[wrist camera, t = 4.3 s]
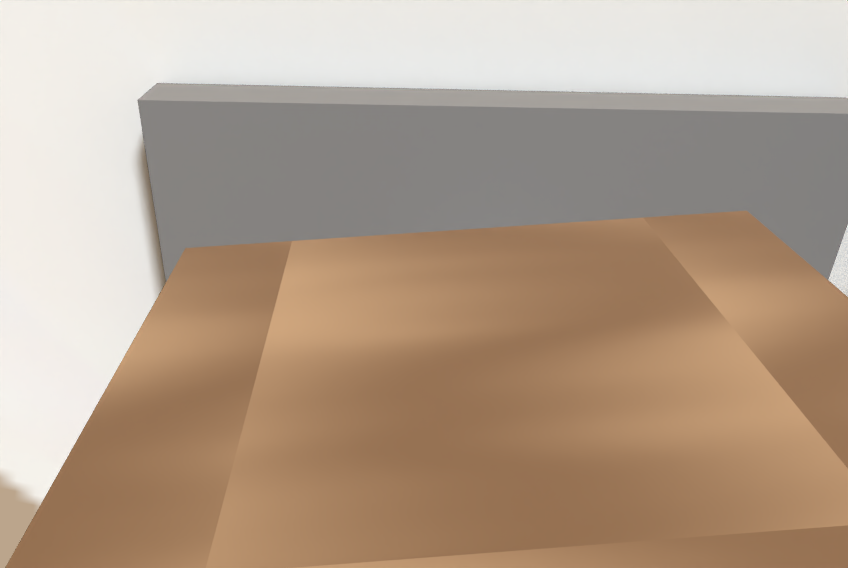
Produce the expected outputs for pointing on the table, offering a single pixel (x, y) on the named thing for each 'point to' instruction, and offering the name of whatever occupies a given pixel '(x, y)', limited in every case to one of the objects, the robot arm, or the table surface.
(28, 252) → the table surface
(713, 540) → the shipping carton
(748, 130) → the gray rectangular slab
